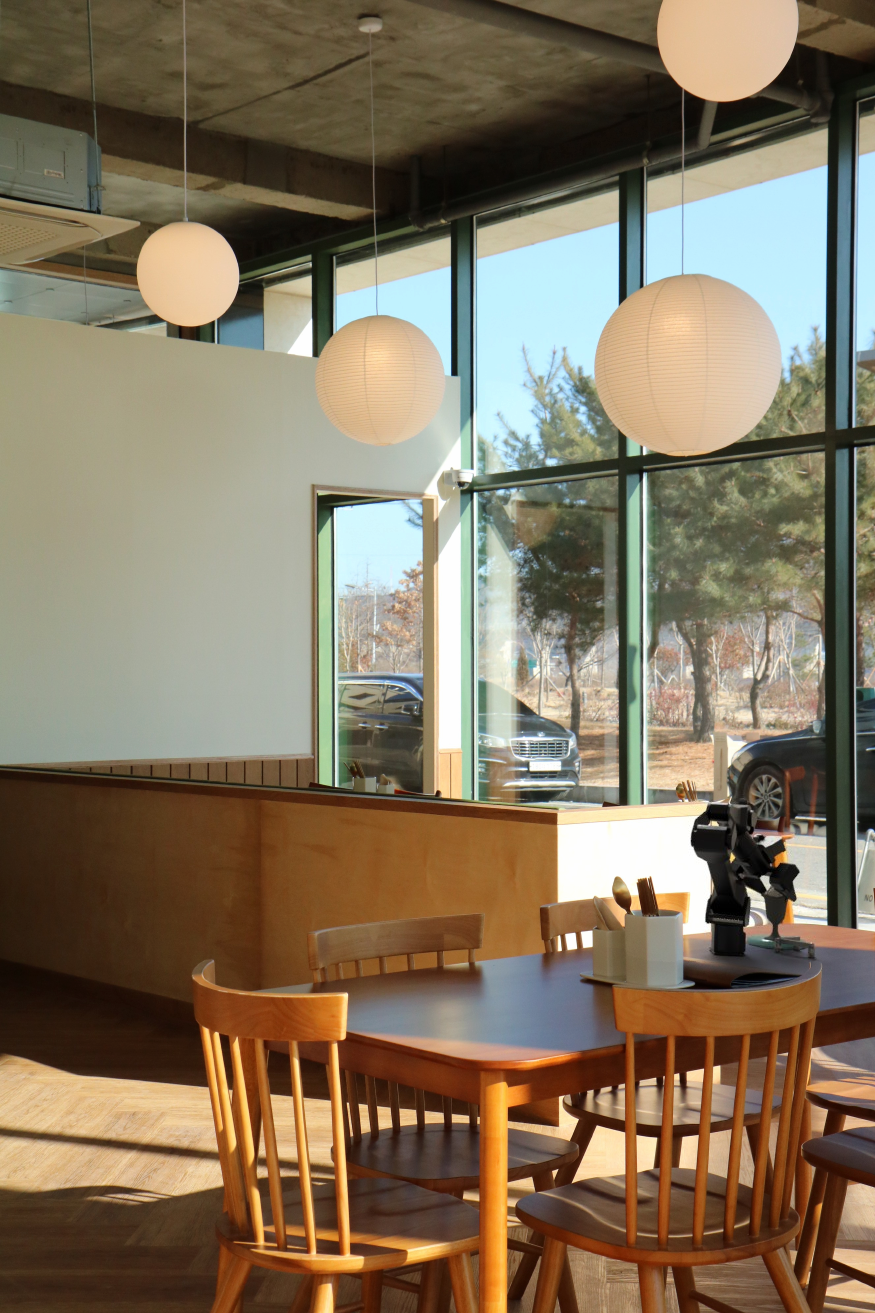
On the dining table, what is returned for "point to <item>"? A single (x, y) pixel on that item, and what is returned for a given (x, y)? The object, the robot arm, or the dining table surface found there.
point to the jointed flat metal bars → (795, 945)
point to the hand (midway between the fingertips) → (780, 897)
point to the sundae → (774, 910)
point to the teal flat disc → (767, 942)
